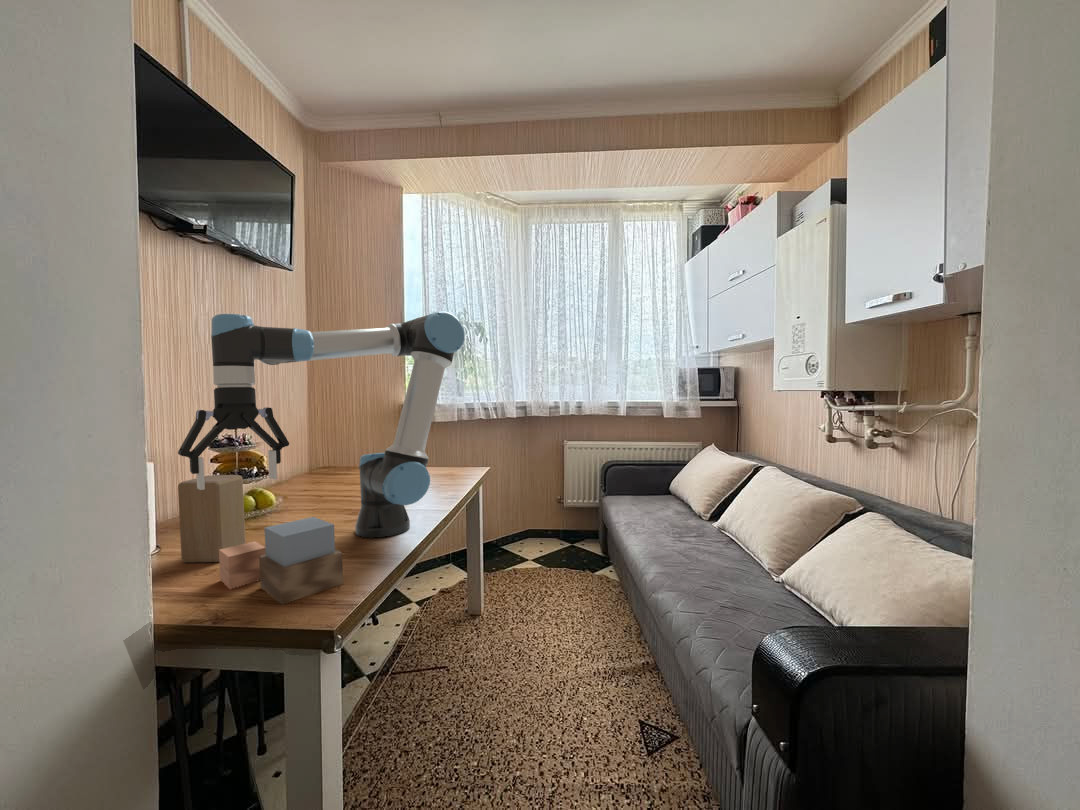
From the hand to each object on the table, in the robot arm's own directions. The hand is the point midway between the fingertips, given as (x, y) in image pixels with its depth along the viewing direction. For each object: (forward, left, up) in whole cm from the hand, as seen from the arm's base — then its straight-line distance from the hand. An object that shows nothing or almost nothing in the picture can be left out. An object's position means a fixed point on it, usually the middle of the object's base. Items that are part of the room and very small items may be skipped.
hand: (238, 483), depth 99 cm
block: (0, -23, -22) cm, 31 cm away
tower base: (-7, +14, -22) cm, 27 cm away
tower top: (-7, +14, -15) cm, 21 cm away
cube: (0, 0, -21) cm, 21 cm away
